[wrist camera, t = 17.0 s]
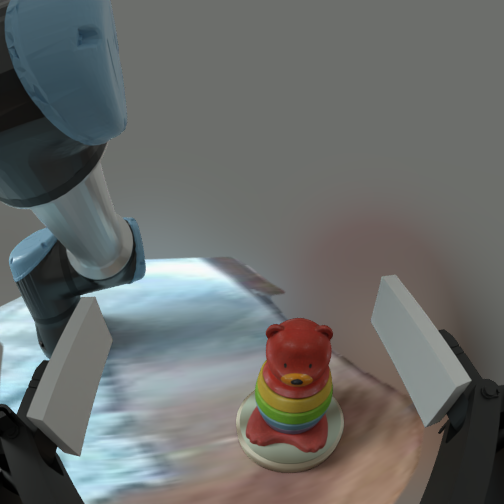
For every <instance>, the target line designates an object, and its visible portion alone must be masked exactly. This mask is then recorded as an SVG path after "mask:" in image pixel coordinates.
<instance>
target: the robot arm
mask: <svg viewBox="0 0 504 504" xmlns="http://www.w3.org/2000/svg"><path fill="white" fill-rule="evenodd" d="M126 124H127V112H126V100H125V92H124V83H123V76H122V70H121V64H120V59H119V49H118V41H117V35H116V28H115V23H114V16H113V11H112V6H111V1H110V0H0V201H1V202H3V203H4V204H6V205H8V206H12V207H15V208H20V209H31V210H32V211H33V213H34V214H35V215H36V216H37V217H38V218H39V219H40V221H41V222H42V223H43V224H44V225H45V226H46V227H47V228H44V229H41V230H39V231H37V232H35V233H33V234H31V235H30V236H28V237H27V238H25V239H24V240H23V241H21V242H20V243H19V244H18V245H17V246H16V247H15V248H14V250H13V251H12V252H11V255H10V258H9V265H10V268H11V271H12V274H13V278H14V281H15V282H16V284H17V286H18V289H19V291H20V293H21V295H22V297H23V299H24V301H25V303H26V305H27V307H28V309H29V311H30V313H31V315H32V317H33V319H34V321H35V326H36V332H37V337H38V341H39V345H40V347H41V349H42V351H43V352H44V354H45V355H46V356H47V357H48V358H49V359H50V360H49V361H47V360H43V361H42V363H41V364H40V365H39V366H38V367H37V368H36V370H35V372H34V374H33V376H32V380H31V381H30V383H29V385H28V387H29V388H27V390H26V392H25V395H24V397H23V400H22V402H21V405H20V407H19V410H18V412H17V415H16V414H15V413H14V412H13V411H12V410H11V409H10V407H8V406H7V405H5V404H0V504H84V502H83V500H82V499H81V497H80V495H79V494H78V492H77V490H76V488H75V486H74V485H73V483H72V481H71V479H70V477H69V475H68V473H67V471H66V469H65V467H64V465H63V463H62V461H61V459H60V457H59V456H58V454H57V453H56V449H57V447H59V448H60V449H61V450H62V451H63V452H64V453H68V454H72V455H76V456H80V455H81V451H82V446H83V442H84V438H85V433H86V429H87V425H88V421H89V417H90V414H91V410H92V406H93V403H94V399H95V395H96V392H97V389H98V385H99V382H100V379H101V375H102V372H103V369H104V366H105V363H106V359H107V356H108V353H109V350H110V347H111V344H112V341H113V339H112V337H111V334H110V332H109V330H108V327H107V325H106V323H105V320H104V318H103V315H102V313H101V310H100V308H99V305H98V303H97V300H96V297H80V295H83V294H87V293H91V292H95V291H99V290H103V289H107V288H111V287H115V286H119V285H123V284H131V283H133V282H134V281H137V280H140V279H142V278H143V277H144V275H145V271H146V265H145V260H144V259H145V256H144V250H143V243H142V238H141V234H140V230H139V227H138V224H137V222H136V220H135V219H134V218H122V217H121V216H119V215H118V214H116V213H115V211H114V207H113V204H112V201H111V198H110V194H109V191H108V187H107V184H106V180H105V177H104V173H103V170H102V166H101V162H100V161H101V159H102V157H103V155H104V153H105V151H106V148H107V145H108V141H109V140H110V139H111V138H114V137H117V136H118V135H120V134H121V132H123V131H124V130H125V127H126ZM371 323H372V324H373V326H374V328H375V330H376V332H377V333H378V335H379V337H380V339H381V341H382V343H383V344H384V346H385V348H386V350H387V352H388V354H389V356H390V358H391V359H392V361H393V363H394V365H395V367H396V369H397V371H398V373H399V375H400V377H401V379H402V381H403V383H404V385H405V387H406V389H407V391H408V393H409V395H410V397H411V399H412V401H413V403H414V405H415V407H416V409H417V411H418V414H419V416H420V418H421V420H422V422H423V424H424V426H425V428H426V427H428V426H431V425H433V424H435V423H438V422H440V420H442V418H443V417H444V416H445V415H446V414H447V416H448V418H449V420H448V421H447V422H446V423H445V424H444V425H443V426H442V428H441V429H440V430H439V432H438V433H439V434H440V433H441V432H442V431H443V430H444V429H445V430H444V434H443V438H442V441H441V445H440V449H439V452H438V455H437V458H436V461H435V464H434V467H433V470H432V473H431V476H430V479H429V481H428V484H427V487H426V489H425V492H424V494H423V497H422V499H421V502H420V504H504V385H502V386H498V385H497V384H496V383H495V382H494V381H492V380H490V379H482V378H481V376H480V375H479V373H478V372H477V370H476V369H475V367H474V366H473V364H472V363H471V361H470V360H469V358H468V357H467V355H466V354H465V353H464V351H463V350H462V348H461V347H459V344H458V342H457V341H456V340H455V338H454V337H453V336H452V335H451V334H450V333H448V332H447V331H445V330H439V331H438V330H437V329H436V327H435V326H434V324H433V323H432V322H431V320H430V319H429V317H428V316H427V315H426V313H425V312H424V311H423V309H422V308H421V307H420V305H419V304H418V303H417V301H416V300H415V299H414V298H413V296H412V295H411V294H410V292H409V291H408V290H407V289H406V288H405V286H404V285H403V284H402V282H401V281H400V280H399V279H398V277H397V276H396V275H390V276H382V278H381V283H380V287H379V291H378V295H377V299H376V303H375V307H374V310H373V314H372V318H371Z"/></svg>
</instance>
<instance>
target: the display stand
mask: <svg viewBox="0 0 504 504" xmlns="http://www.w3.org/2000/svg"><path fill="white" fill-rule="evenodd" d="M256 406H257V404H256V400H255V390H254V391H253V392H252V393H251V394H249V395H248V396H247V397H246V399H245V400H244V401H243V403H242V404H241V406H240V408H239V410H238V414H237V419H236V428H237V434H238V439H239V442H240V445H241V447H242V449H243V451H244V452H245V453H246V455H247V456H248V457H249V458H250V459H251V460H252V461H254V462H255V463H256V464H258V465H259V466H261V467H263V468H266V469H268V470H271V471H275V472H281V473H296V472H302V471H306V470H309V469H311V468H314V467H316V466H317V465H319V464H321V463H322V462H323V461H325V460H326V459H327V458H328V457H329V456H330V455H331V454H332V452H333V451H334V449H335V448H336V446H337V444H338V442H339V440H340V438H341V435H342V433H343V427H344V418H343V413H342V410H341V408H340V405H339V404H338V402H337V401H336V399H335V398H334V397H333V396H332V400H331V403H330V405H329V407H328V409H327V411H326V413H325V414H326V417H327V422H328V436H327V441H326V444H325V446H324V447H323V448H322V449H319V450H318V451H317V452H316V453H312V452H308V453H306V452H303V451H301V450H299V449H298V448H297V447H295V446H293V445H290V444H286V443H275V444H270V445H267V446H258V445H257V444H252V443H251V442H250V440H249V439H248V438H247V437H246V427H247V423H248V420H249V418H250V416H251V414H252V412H253V410H254V409H255V408H256Z"/></svg>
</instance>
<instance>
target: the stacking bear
mask: <svg viewBox="0 0 504 504" xmlns="http://www.w3.org/2000/svg"><path fill="white" fill-rule="evenodd" d="M266 336H267V338H268V340H267V344H266V358H267V360H266V361H265V362H264V364H263V365H262V368H261V370H260V373H259V376H258V379H257V382H256V387H255V400H256V404H257V406H256V408H255V409H254V410H253V412H252V414H251V416H250V418H249V420H248V423H247V427H246V437H247V438H248V439H249V440H250V442H251V443H252V444H257V445H258V446H267V445H270V444H275V443H286V444H290V445H293V446H295V447H297V448H298V449H299V450H301V451H303V452H306V453H308V452H312V453H316V452H317V451H318V450H319V449H322V448H323V447H324V446H325V444H326V441H327V436H328V422H327V417H326V414H325V413H326V411H327V409H328V407H329V405H330V403H331V400H332V393H333V385H332V377H331V372H330V368H329V366H328V365H329V362H330V358H331V344H330V339H331V338H332V336H333V332H332V330H331V328H329V327H328V326H325V325H321V326H319V325H318V324H316V323H315V322H313V321H311V320H308V319H304V318H294V319H290V320H287V321H285V322H283V323H281V324H273V325H271V326H270V327H269V328H268V329H267V330H266Z"/></svg>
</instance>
